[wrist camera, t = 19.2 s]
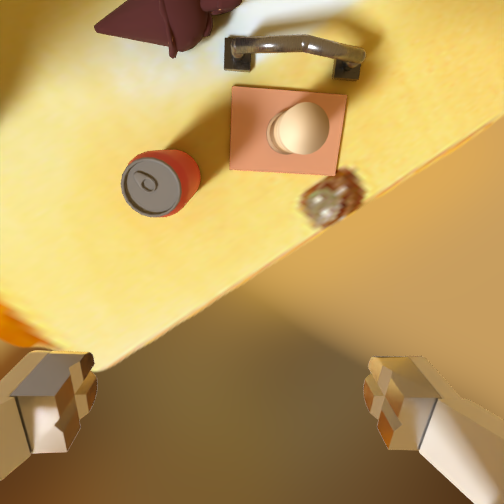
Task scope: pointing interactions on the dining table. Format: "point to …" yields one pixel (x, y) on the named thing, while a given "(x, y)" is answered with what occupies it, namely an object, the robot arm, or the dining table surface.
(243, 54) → the bent metal handle
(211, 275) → the dining table surface
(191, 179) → the beer can
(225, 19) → the dining table surface
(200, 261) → the dining table surface
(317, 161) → the tile
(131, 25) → the icecream
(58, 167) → the dining table surface
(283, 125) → the birch post
